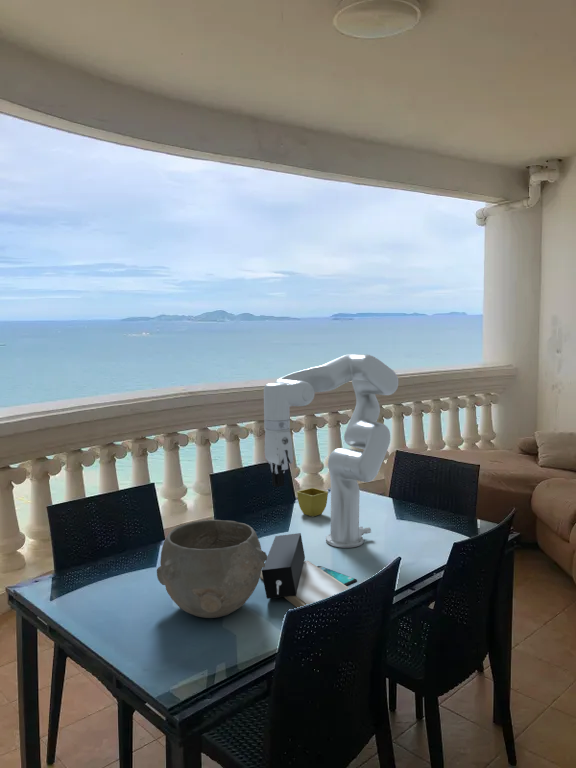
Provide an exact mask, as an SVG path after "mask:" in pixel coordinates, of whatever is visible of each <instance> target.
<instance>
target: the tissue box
mask: <svg viewBox="0 0 576 768" xmlns="http://www.w3.org/2000/svg"><path fill="white" fill-rule="evenodd" d="M303 544H304V543H303V538H302V533H301V532H298V533H297V532H296V533H290V534H283V535H276V536H275V537H274V539H273V541H272V544H271V547H270V549H269V551H268V555H267V560H266V561H265V562H264V563H265V567H263V568H262V576H263V586H264V591H265V592H264V593H265V596H266V599H267V600H269V599H276V598H277V599H278V598H284V597H287V596H296V594H297V589H298V584H299V580H300V576H301V572H302V568H303V564H304V561H306V560H305V559H306V556H305V549H304V545H303Z"/></svg>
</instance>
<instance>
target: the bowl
mask: <svg viewBox="0 0 576 768" xmlns="http://www.w3.org/2000/svg"><path fill="white" fill-rule="evenodd" d="M267 556H268V555H267V553H266V551H264V550H262V546H261V542H260V539H259V537H258V535H257V532H256V531H255V530H254V528H253V527H251V526H250V525H249V524H246V523H243V522H239V521H235V520H223V519H222V520H221V519H207V520H205V519H203V520H199V521H194V522H189V523H185V524H181V525H179V526H177V527H175V528H174V529H172V530H171V531H169V533H168V535H166V537H165V539H164V540H163V544H162V547H161V553H160V566H158V567H157V569H156V577H157V580H158V581H159V583H160V584H161V585H162V586H165V591H166V592H167V595H168V596H169V597H170V598H171V600H172V601H173V602H174V603H175V605H176V606H178V607H179V608H180V609H181V610H183V612H186V613H187V614H190V615H192V616H195V617H199V618H203V619H204V618H205V619H212V618H214V619H215V618H221V617H224V616H228V615H230V614H231V613H234V612H235V611H237V610H238V609H240V608H241V607H243V606H244V605H245V604H246V602H247V601H248V599H250V597H251V596H252V595H253V593H254V592H255V590H256V588H257V585H258V584H259V582H260V579H261V578H260V574H261V570H262V568H263V567H265V561H266V560H267Z"/></svg>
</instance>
